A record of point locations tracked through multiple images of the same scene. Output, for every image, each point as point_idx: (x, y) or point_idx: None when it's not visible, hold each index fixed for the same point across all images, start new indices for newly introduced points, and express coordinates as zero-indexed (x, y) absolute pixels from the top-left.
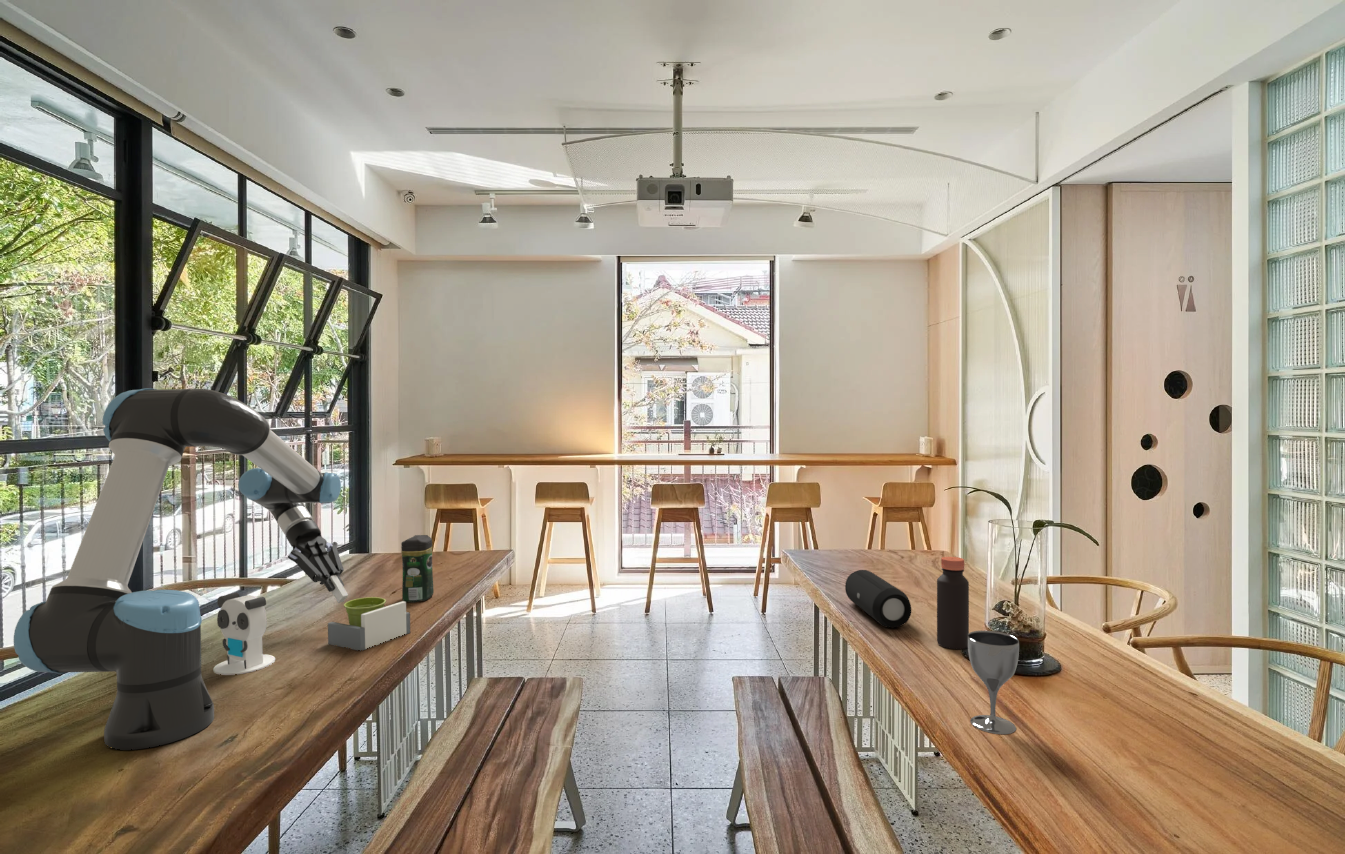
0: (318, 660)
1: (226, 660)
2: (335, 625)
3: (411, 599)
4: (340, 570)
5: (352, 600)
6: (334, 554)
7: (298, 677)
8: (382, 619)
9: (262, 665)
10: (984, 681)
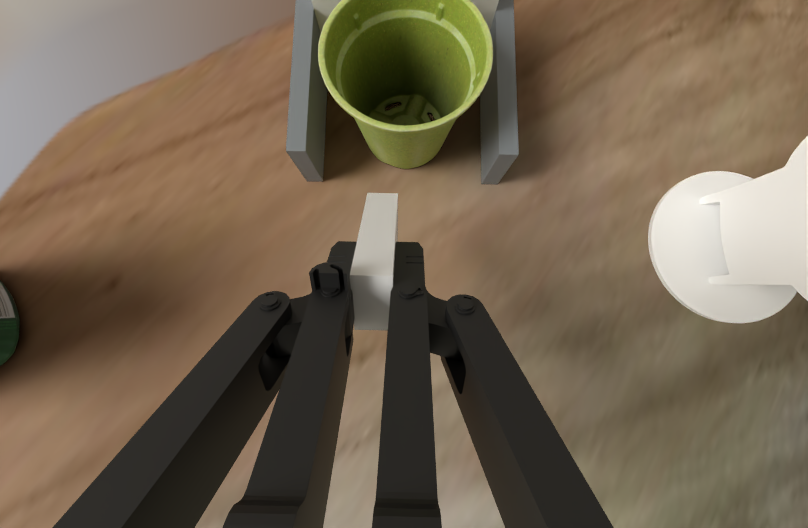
0: (597, 92)
1: (746, 322)
2: (515, 116)
3: (10, 307)
4: (284, 300)
5: (406, 126)
6: (164, 467)
7: (694, 36)
8: None
9: (709, 183)
10: None
